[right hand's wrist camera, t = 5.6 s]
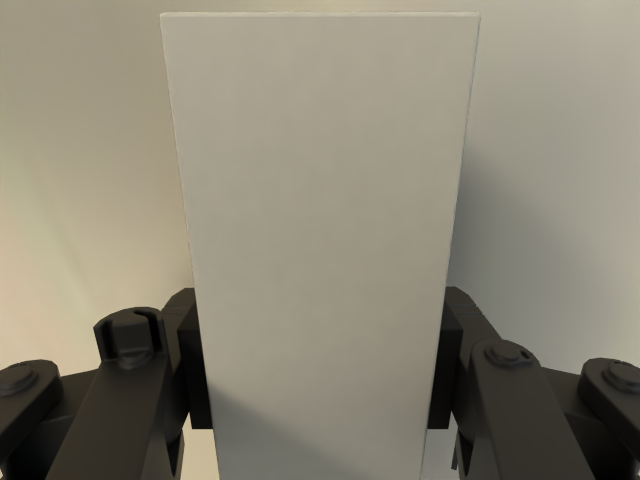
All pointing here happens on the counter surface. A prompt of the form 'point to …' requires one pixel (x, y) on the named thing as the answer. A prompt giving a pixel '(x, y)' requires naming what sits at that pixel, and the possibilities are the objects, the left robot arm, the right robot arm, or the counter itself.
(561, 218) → the counter surface
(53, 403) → the right robot arm
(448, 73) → the beam
